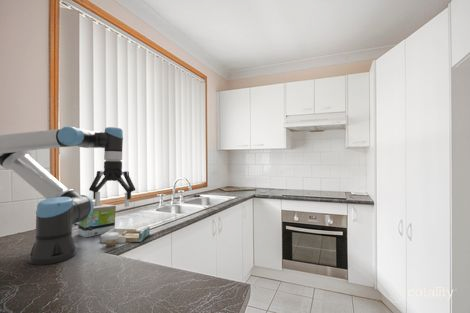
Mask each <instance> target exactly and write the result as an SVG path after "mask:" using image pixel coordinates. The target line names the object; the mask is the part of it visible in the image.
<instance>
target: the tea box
mask: <svg viewBox="0 0 470 313" xmlns="http://www.w3.org/2000/svg"><path fill="white" fill-rule="evenodd" d="M116 208H117V205H114V204H109V203H101V204H100V206H97V207H95V204H94V209H93V212H92V214H91V215H90V216H89V217H88V218H86V219H85V220H83V221H80V222H77V224H78V225H77V226H78V227H77V235H79V236H81V237H83V238H90V237H93V236H98V235H99V236H101V235H103V234H105V233H106V232H108V231H110V230H112V229H113V228H116V227H115V226H116Z"/></svg>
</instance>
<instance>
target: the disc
mask: <svg viewBox="0 0 470 313" xmlns="http://www.w3.org/2000/svg"><path fill="white" fill-rule="evenodd" d="M101 235H102V239H103V240H115V239H118V238H119V235H120V234H119V233H117V232H111V233H106V234H101Z"/></svg>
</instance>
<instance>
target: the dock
mask: <svg viewBox="0 0 470 313" xmlns="http://www.w3.org/2000/svg"><path fill="white" fill-rule="evenodd" d="M125 231H137V228H131V227H130V228H129V227H128V228H127V227H125V228H121V227H115V228H113V229H112V230H110V231H108V232H106V233H111V232H117V233H119V235H120V234H122V233H124V232H125ZM106 233H105V234H106ZM102 235H103V234H100V235H99V243H106V241H107V240H103V239H102ZM126 242H127V241H126V236H119V238H118V239H115V244H116V243H117V244H119V243H120V244H121V243H123V244H126Z"/></svg>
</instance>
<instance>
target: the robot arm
mask: <svg viewBox="0 0 470 313" xmlns="http://www.w3.org/2000/svg"><path fill="white" fill-rule="evenodd" d="M123 132H124V131H123V129H122V128H120V127H116V126H115V127H112V126H110V127H109V126H108V127H105V129H104V131H91V130H87V129H82V128H79V127H76V126H68V125H67V126H63V127H62V128H59V129H48V130H47V129H46V130H38V131H37V130H36V131H35V130H34V131H28V132H27V131H26V132H15V133H5V134H0V167H2V168H4V169H5V170H12V171H13V172H14V173H15V174H16V175H18V176H19V177H20V178H21V179H22V180H23V181H25V182H26V183H27V184H28V185H29V186H30V187H32V188H33V189H34V190H35V191H37V193H39V194H40V195H41V196H42V197H43V198H45V199H43V200H41V201H39V202H38V204H37V206H36V211H35V214H36V216H35V217H36V219H35V241H34V244H33V246H32V248H31V251H30V253H29V256H28V263H29V264H30V265H38V266H39V265H41V266H43V265H51V264H56V263H60V262H63V261H66V260H69V259H71V258H73V257H74V256H76V253H77V246H76V244H75V241H74V238H73V236H72V231H73V229H72V228H73V225H74V224H78V222H80V221H83V220H85V219H86V218H88V217H89V216H90V215H91V214H92V212H93V209H94V205H95V207H97V206H100V205H101V204H100V203H101V191H100V189H101V188H102V187H103V186H105V184H106V183H107V182H108V181H109V182H110V181H113V182H118V183H119V185H120V186H121V187H122V188H123V190H125V192H124V208H127V207H130V200H131V199H132V192H134V191H136V188H135V185H134V184H133V180H132V179H131V177H130V172H129V171H128V170H126V171H123V162H122V160H123V143H124V136H123ZM68 147H69V148H71V147H80V148H85V149H90V148H91V149H92V148H94V149H97V148H98V149H99V148H100V149H104V156H103V159H104V160H105V161H104V162H103V170H97V171H96V175H95V178H94V180H93V181H92V183H91V185H90V187H89V189H88V190H89V191H91V192H93V194H92V195H93V196H92V197H93V200H94V202H93V200H92V198H91V197H90V196H88V195H84V194H80V193H79V192H78V191H76V190H75V189H73V188H67V187H66V186H65V185H64V184H63V183H61V182H60V181H59V180H58V179H57V178H56V177H54V175H52V174H51V173H50V172H49V171H48V170H46V169H45V168H44V167H43V166H41V164H40V163H39V162H37V161H36V160H35V159H34V158H33V157H32V152H31V151H41V150H48V149H49V150H50V149H57V148H58V149H59V148H68ZM103 175H104V176H103ZM102 176H103V178H102ZM122 176H123V177H124V178H123V177H122ZM124 179H125V180H124ZM100 180H101V181H100ZM125 181H126V182H125Z"/></svg>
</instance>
